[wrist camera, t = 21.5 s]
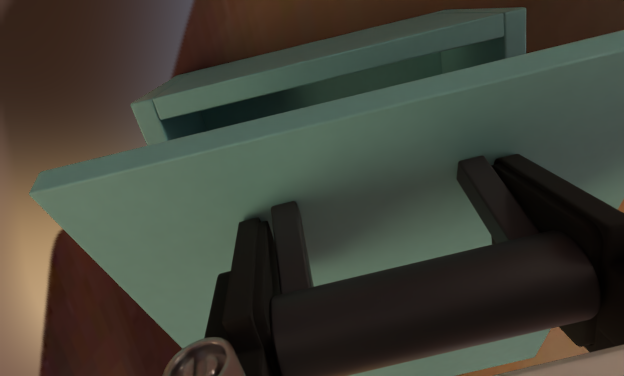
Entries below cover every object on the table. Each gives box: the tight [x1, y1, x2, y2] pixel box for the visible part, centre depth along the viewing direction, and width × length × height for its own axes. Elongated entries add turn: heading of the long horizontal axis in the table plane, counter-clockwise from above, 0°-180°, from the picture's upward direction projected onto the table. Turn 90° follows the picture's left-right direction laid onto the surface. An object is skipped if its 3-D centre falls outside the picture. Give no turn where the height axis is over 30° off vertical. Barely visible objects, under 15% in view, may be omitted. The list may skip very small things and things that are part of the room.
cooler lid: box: [29, 30, 624, 376], centre depth 14 cm, size 19×16×5 cm
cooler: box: [131, 7, 526, 146], centre depth 23 cm, size 18×16×8 cm
